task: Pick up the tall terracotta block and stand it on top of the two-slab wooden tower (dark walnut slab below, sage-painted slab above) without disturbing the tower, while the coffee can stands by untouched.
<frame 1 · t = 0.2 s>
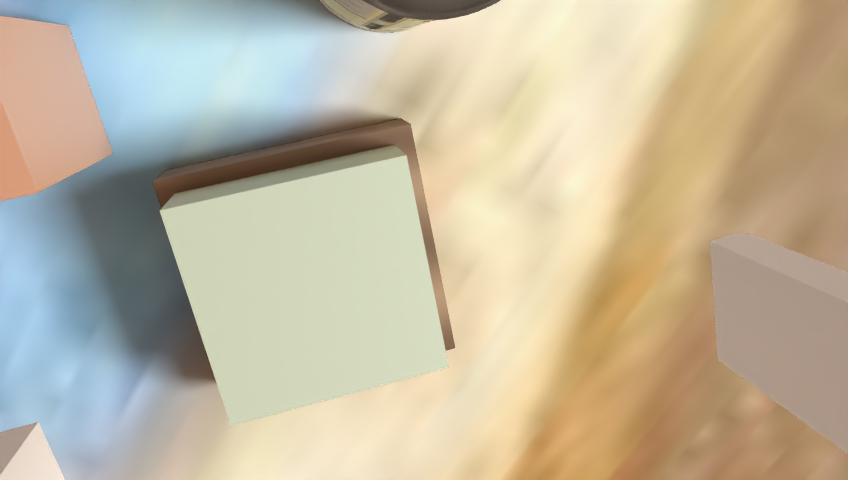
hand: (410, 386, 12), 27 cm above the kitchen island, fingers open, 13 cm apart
terracotta block: (25, 105, 34), on the kitchen island
sage block: (313, 270, 36), point 3 cm above the kitchen island, touching walnut block
walnut block: (314, 251, 40), on the kitchen island, touching sage block
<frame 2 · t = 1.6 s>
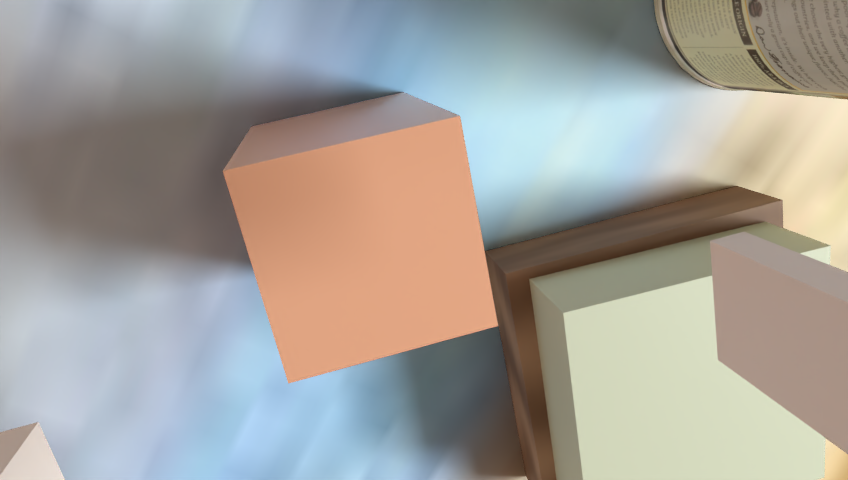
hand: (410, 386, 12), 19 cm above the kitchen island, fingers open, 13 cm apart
terracotta block: (346, 183, 30), on the kitchen island
sage block: (657, 361, 32), point 3 cm above the kitchen island, touching walnut block
walnut block: (621, 332, 36), on the kitchen island, touching sage block
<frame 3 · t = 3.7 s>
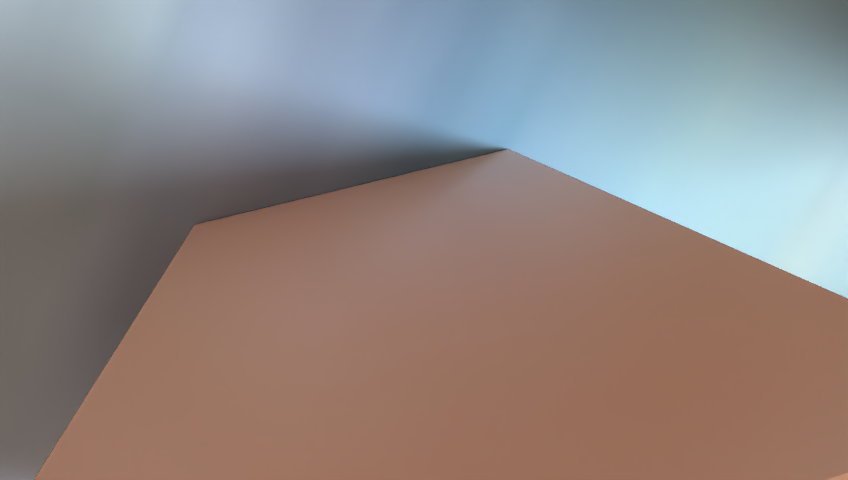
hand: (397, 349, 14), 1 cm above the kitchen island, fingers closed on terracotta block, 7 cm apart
terracotta block: (390, 328, 15), on the kitchen island, touching gripper
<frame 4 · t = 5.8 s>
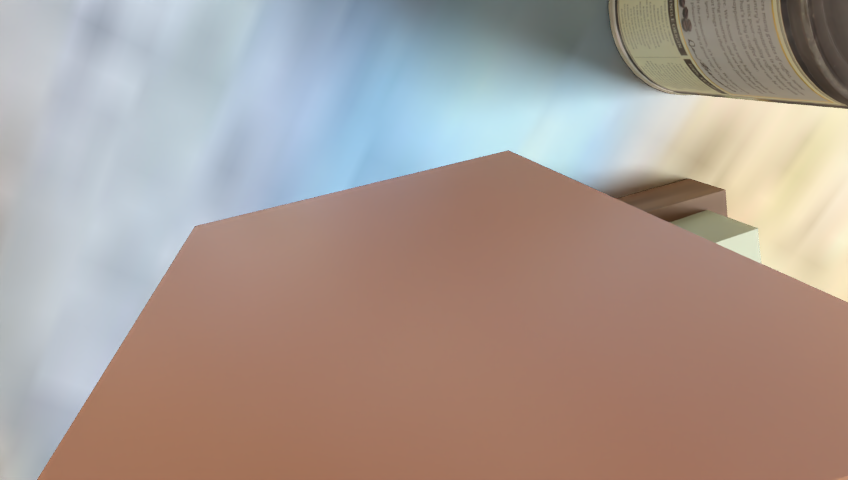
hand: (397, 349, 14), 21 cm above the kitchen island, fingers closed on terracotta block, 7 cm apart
terracotta block: (391, 329, 15), point 20 cm above the kitchen island, touching gripper
sage block: (623, 340, 36), point 3 cm above the kitchen island, touching walnut block
walnut block: (590, 312, 39), on the kitchen island, touching sage block
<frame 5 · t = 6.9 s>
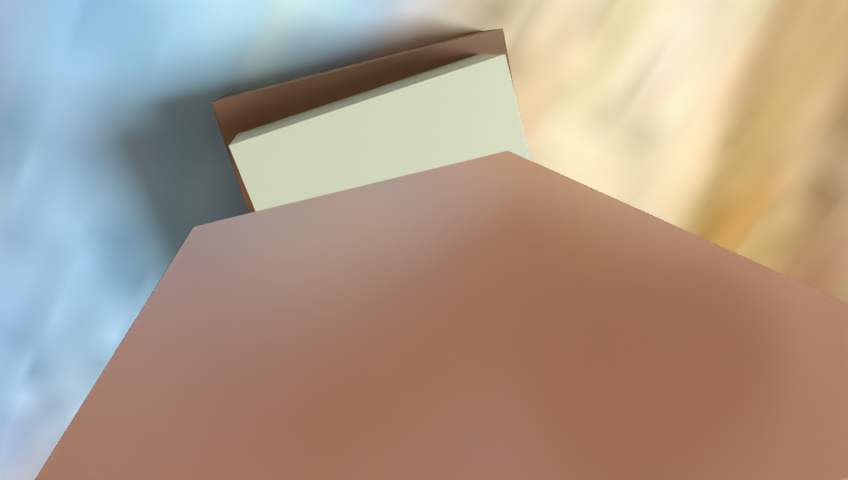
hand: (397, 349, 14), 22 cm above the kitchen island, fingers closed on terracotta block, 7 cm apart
terracotta block: (390, 330, 15), point 20 cm above the kitchen island, touching gripper
sage block: (399, 209, 32), point 3 cm above the kitchen island, touching walnut block
walnut block: (386, 189, 35), on the kitchen island, touching sage block
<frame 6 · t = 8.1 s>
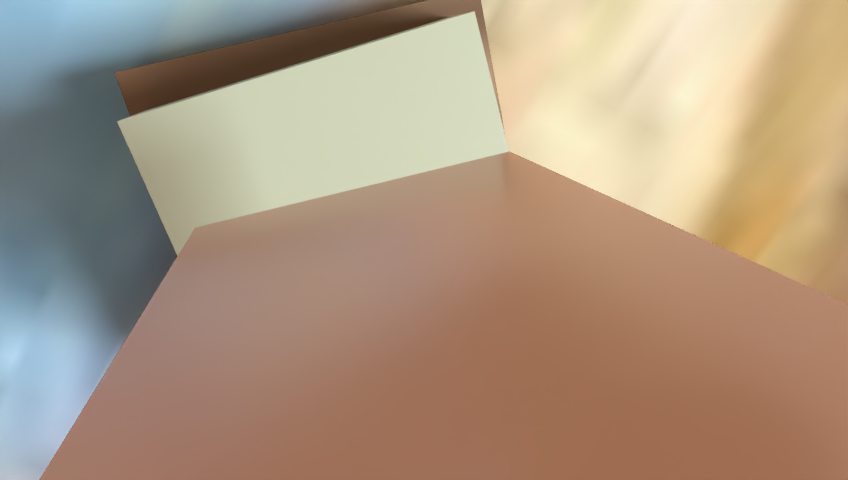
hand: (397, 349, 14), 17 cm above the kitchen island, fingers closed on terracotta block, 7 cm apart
terracotta block: (391, 331, 15), point 15 cm above the kitchen island, touching gripper
sage block: (349, 207, 26), point 3 cm above the kitchen island, touching walnut block
walnut block: (343, 184, 30), on the kitchen island, touching sage block
when the fingers open (10 cm above the kitchen island, at t = 9.6 s): terracotta block drops 1 cm, resting on sage block.
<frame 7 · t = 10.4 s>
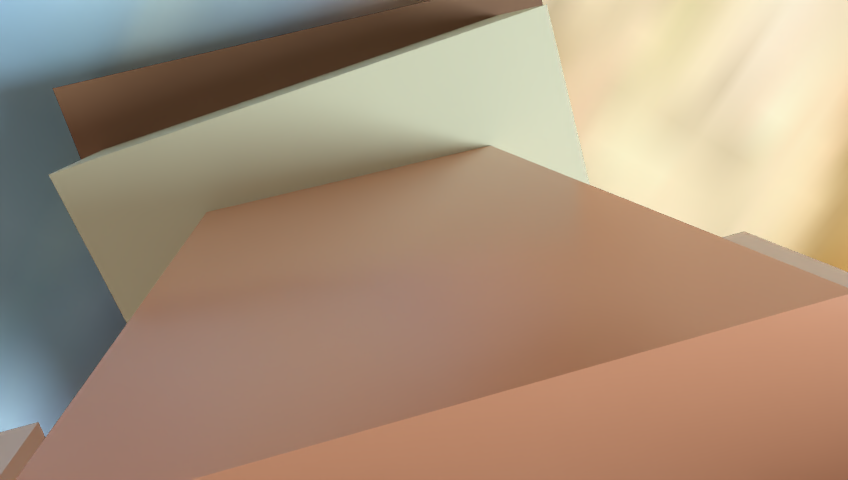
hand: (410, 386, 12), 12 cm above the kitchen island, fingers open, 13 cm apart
terracotta block: (383, 309, 16), point 7 cm above the kitchen island, touching sage block
sage block: (373, 265, 20), point 3 cm above the kitchen island, touching terracotta block, walnut block
walnut block: (356, 224, 24), on the kitchen island, touching sage block
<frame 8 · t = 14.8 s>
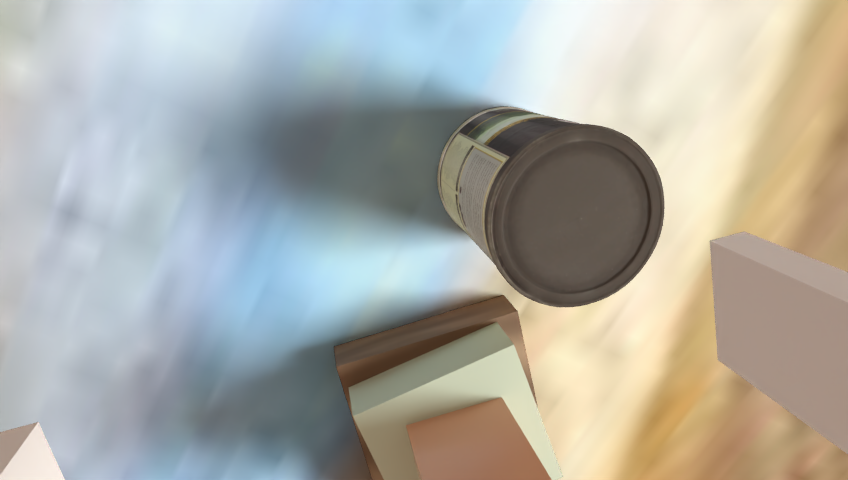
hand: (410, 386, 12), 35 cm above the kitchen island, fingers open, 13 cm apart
terracotta block: (463, 452, 45), point 7 cm above the kitchen island, touching sage block
sage block: (450, 418, 49), point 3 cm above the kitchen island, touching terracotta block, walnut block
coffee can: (500, 174, 48), on the kitchen island
walnut block: (438, 392, 53), on the kitchen island, touching sage block
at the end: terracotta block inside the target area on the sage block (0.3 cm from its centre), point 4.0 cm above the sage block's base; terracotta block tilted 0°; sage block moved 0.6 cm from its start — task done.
